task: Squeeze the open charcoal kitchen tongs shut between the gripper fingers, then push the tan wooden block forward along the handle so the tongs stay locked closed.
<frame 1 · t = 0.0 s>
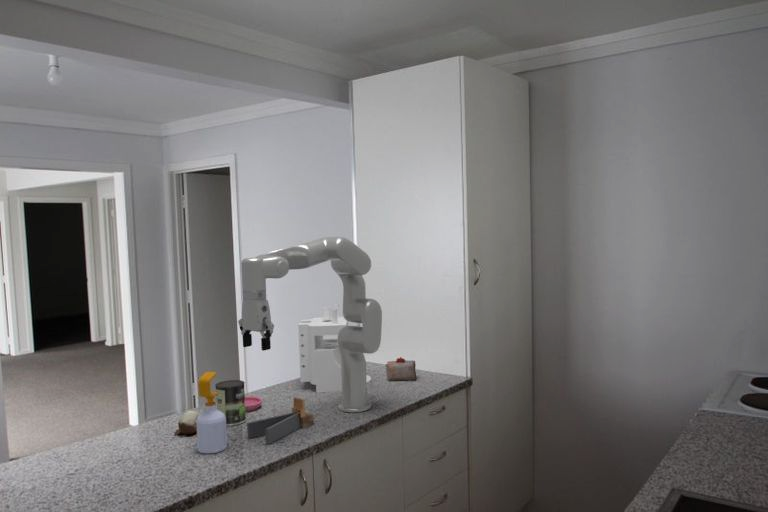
hand: (256, 348, 197), 31 cm above the worktop, tool pointing down, fingers open, 9 cm apart
saucer: (246, 409, 236), on the worktop
coffee machine: (336, 385, 267), on the worktop
coffee can: (231, 422, 220), on the worktop
spray bottle: (212, 449, 194), on the worktop
tan wooden block: (298, 407, 212), point 7 cm above the worktop, slide at 0.0 cm
tongs arm 1: (272, 424, 207), point 3 cm above the worktop, hinge at 14.0°
food item: (401, 379, 273), on the worktop
tongs arm 2: (283, 427, 203), point 3 cm above the worktop, hinge at 14.0°
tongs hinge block: (304, 425, 214), on the worktop
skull: (192, 433, 210), on the worktop
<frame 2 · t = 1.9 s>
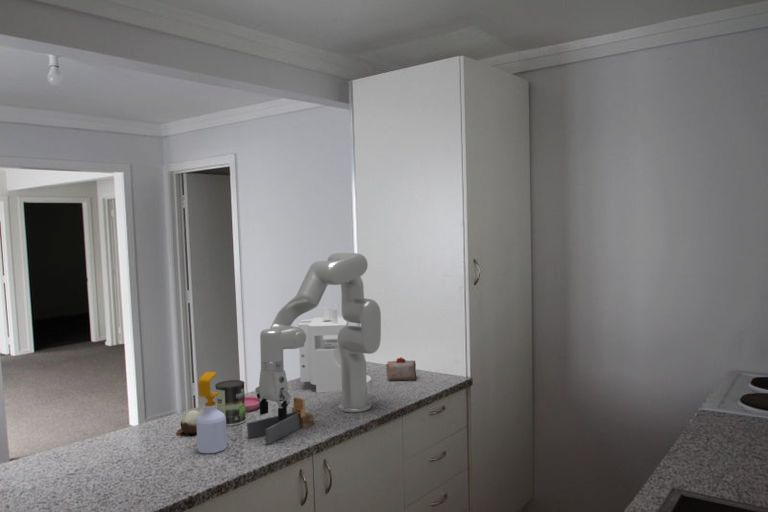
hand: (273, 416, 203), 7 cm above the worktop, tool pointing down, fingers open, 9 cm apart
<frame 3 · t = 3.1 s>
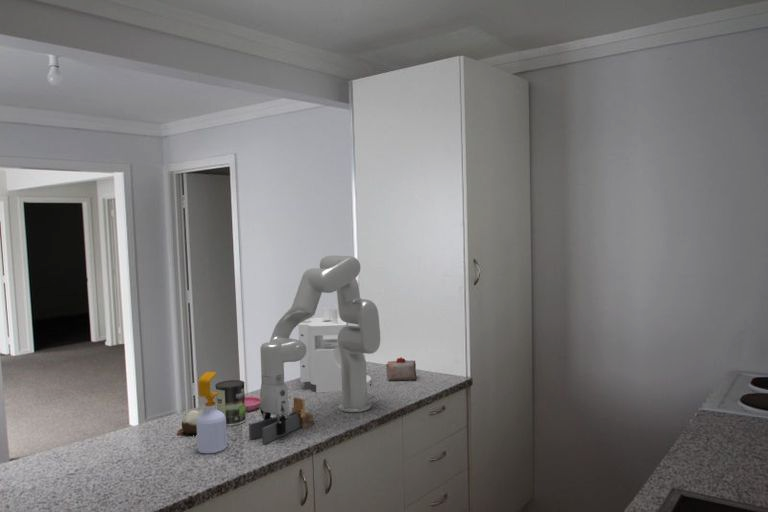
hand: (274, 431, 204), 1 cm above the worktop, tool pointing down, fingers open, 6 cm apart
tongs arm 1: (273, 425, 206), point 3 cm above the worktop, hinge at 9.3°, touching gripper
tongs arm 2: (281, 427, 203), point 3 cm above the worktop, hinge at 9.2°, touching gripper
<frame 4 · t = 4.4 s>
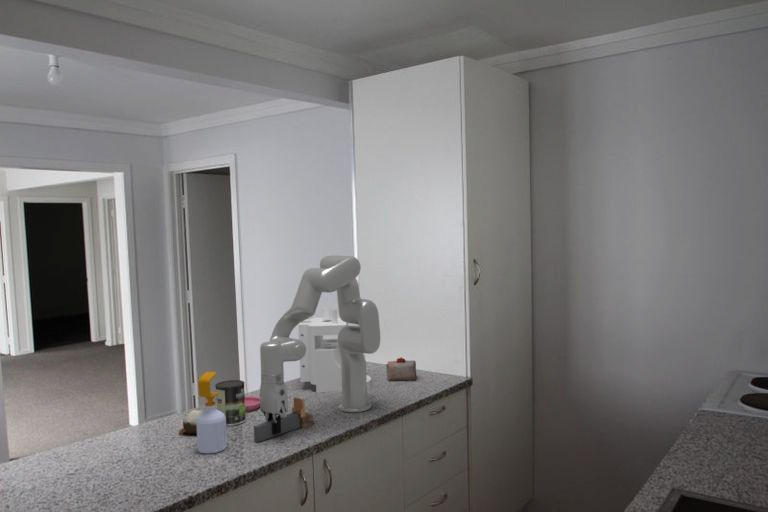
hand: (273, 432, 204), 1 cm above the worktop, tool pointing down, fingers closed
tongs arm 1: (276, 426, 205), point 3 cm above the worktop, hinge at -0.5°, touching gripper, tongs arm 2
tongs arm 2: (278, 426, 204), point 3 cm above the worktop, hinge at -0.8°, touching gripper, tongs arm 1
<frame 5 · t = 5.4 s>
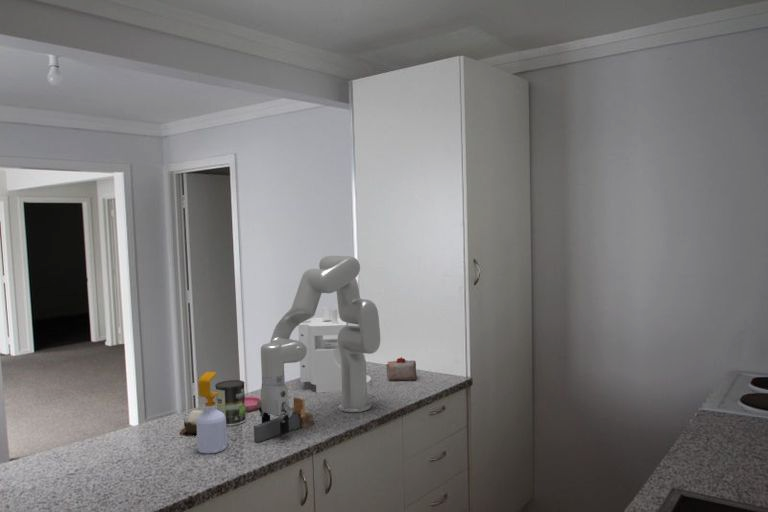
hand: (275, 430, 204), 2 cm above the worktop, tool pointing down, fingers open, 9 cm apart
tongs arm 1: (276, 426, 205), point 3 cm above the worktop, hinge at -0.5°, touching tongs arm 2
tongs arm 2: (278, 426, 204), point 3 cm above the worktop, hinge at -0.8°, touching tongs arm 1
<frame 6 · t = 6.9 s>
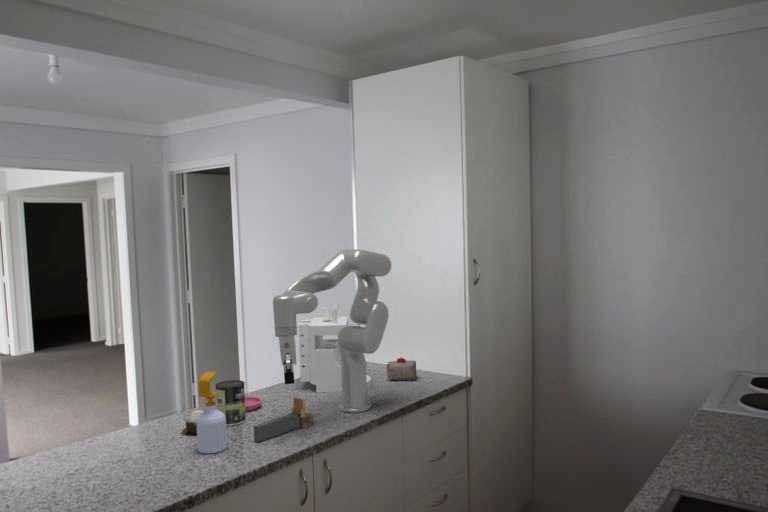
hand: (289, 379, 208), 18 cm above the worktop, tool pointing down, fingers open, 9 cm apart
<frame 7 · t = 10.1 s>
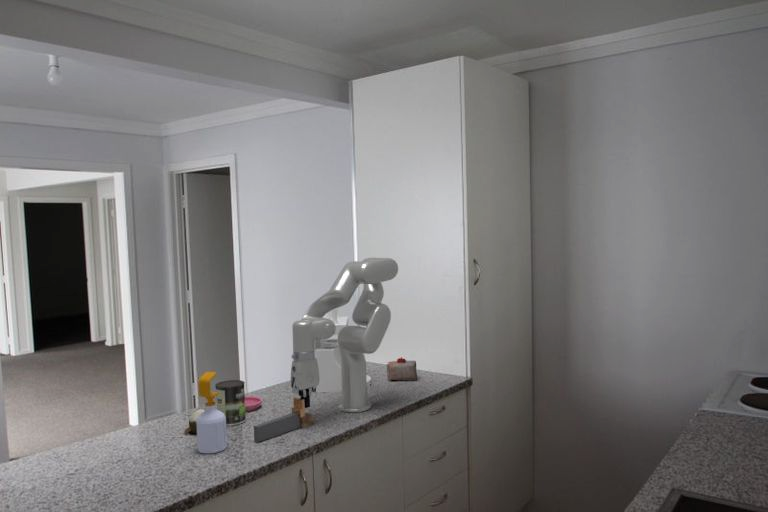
hand: (305, 406, 214), 6 cm above the worktop, tool pointing down, fingers closed
tan wooden block: (298, 407, 212), point 7 cm above the worktop, slide at 0.1 cm, touching gripper
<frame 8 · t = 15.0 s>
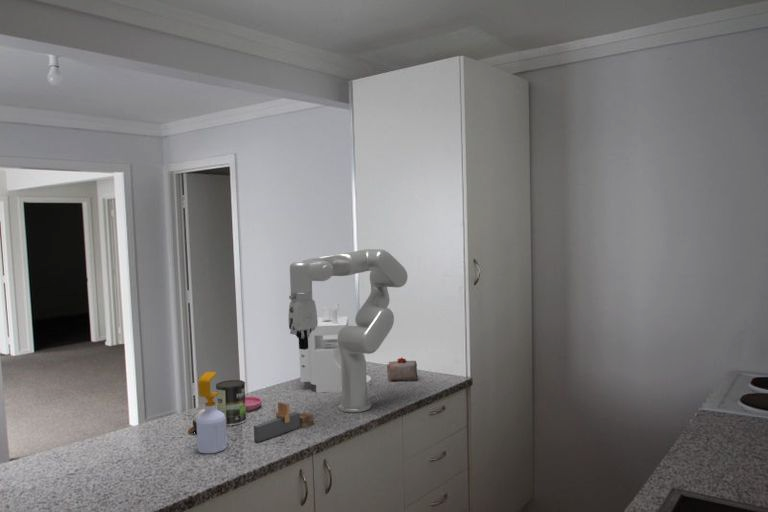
hand: (303, 348, 213), 27 cm above the worktop, tool pointing down, fingers closed
tan wooden block: (282, 412, 206), point 7 cm above the worktop, slide at 7.1 cm
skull: (206, 431, 212), on the worktop
everything else where it was.
at the end: tongs arm 1 at +0° (first picture: +14°); tongs arm 2 at -1° (first picture: +14°); tan wooden block slide at 7.1 cm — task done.
